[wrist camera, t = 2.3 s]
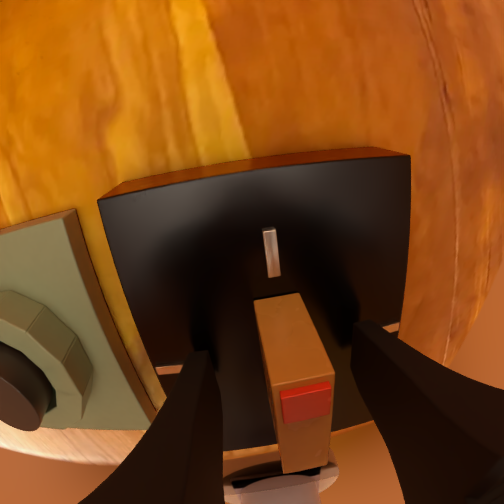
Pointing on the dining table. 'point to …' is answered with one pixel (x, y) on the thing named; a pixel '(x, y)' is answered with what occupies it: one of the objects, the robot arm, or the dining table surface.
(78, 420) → the doorbell
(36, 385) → the bell button
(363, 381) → the robot arm
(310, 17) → the dining table surface
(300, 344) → the red-tipped wooden block
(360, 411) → the lock plate
